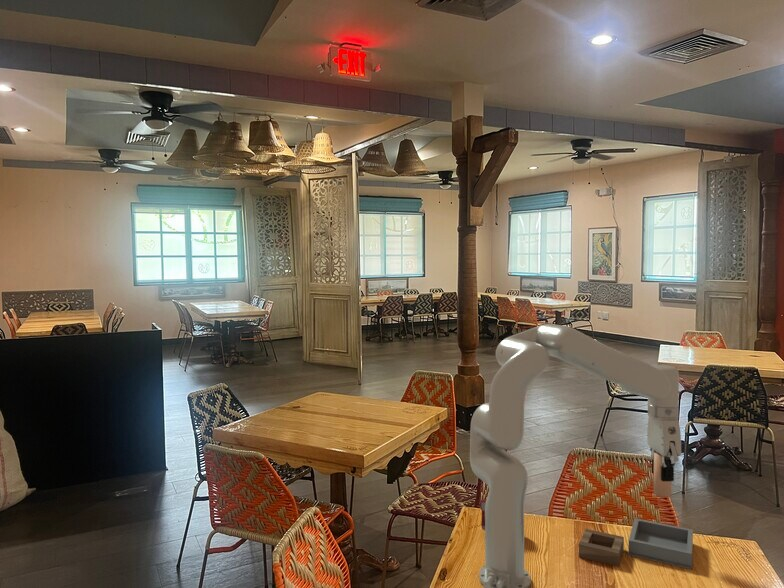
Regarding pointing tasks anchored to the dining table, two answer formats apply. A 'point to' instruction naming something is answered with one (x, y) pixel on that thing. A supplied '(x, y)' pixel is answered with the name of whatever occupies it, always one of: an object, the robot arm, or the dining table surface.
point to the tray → (661, 543)
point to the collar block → (601, 547)
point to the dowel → (660, 486)
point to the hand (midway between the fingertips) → (662, 476)
